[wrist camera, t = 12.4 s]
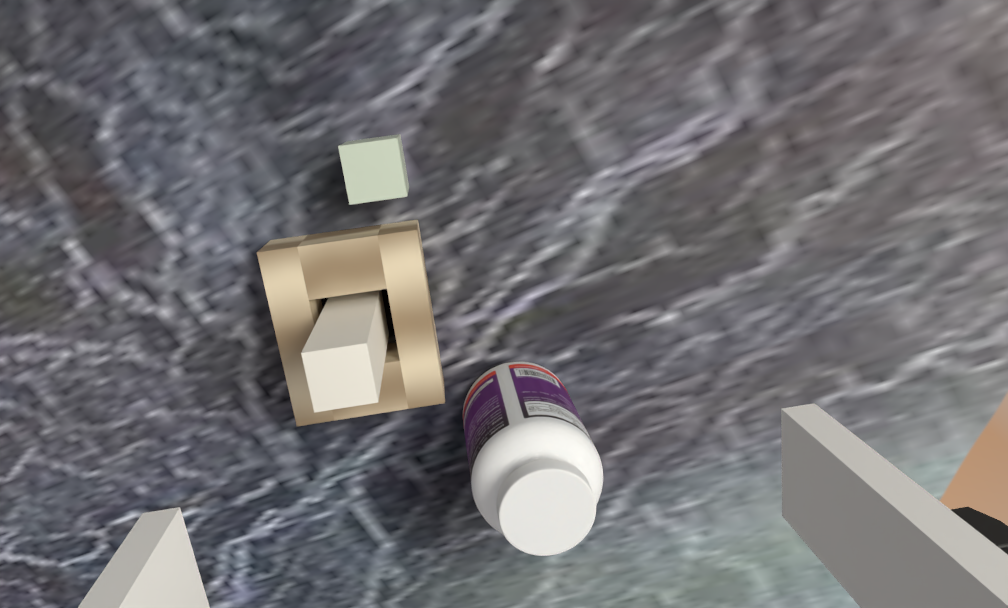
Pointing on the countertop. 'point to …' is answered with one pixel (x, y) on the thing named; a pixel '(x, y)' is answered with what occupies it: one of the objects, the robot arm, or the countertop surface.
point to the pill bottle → (530, 459)
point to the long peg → (347, 352)
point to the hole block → (348, 270)
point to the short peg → (374, 169)
